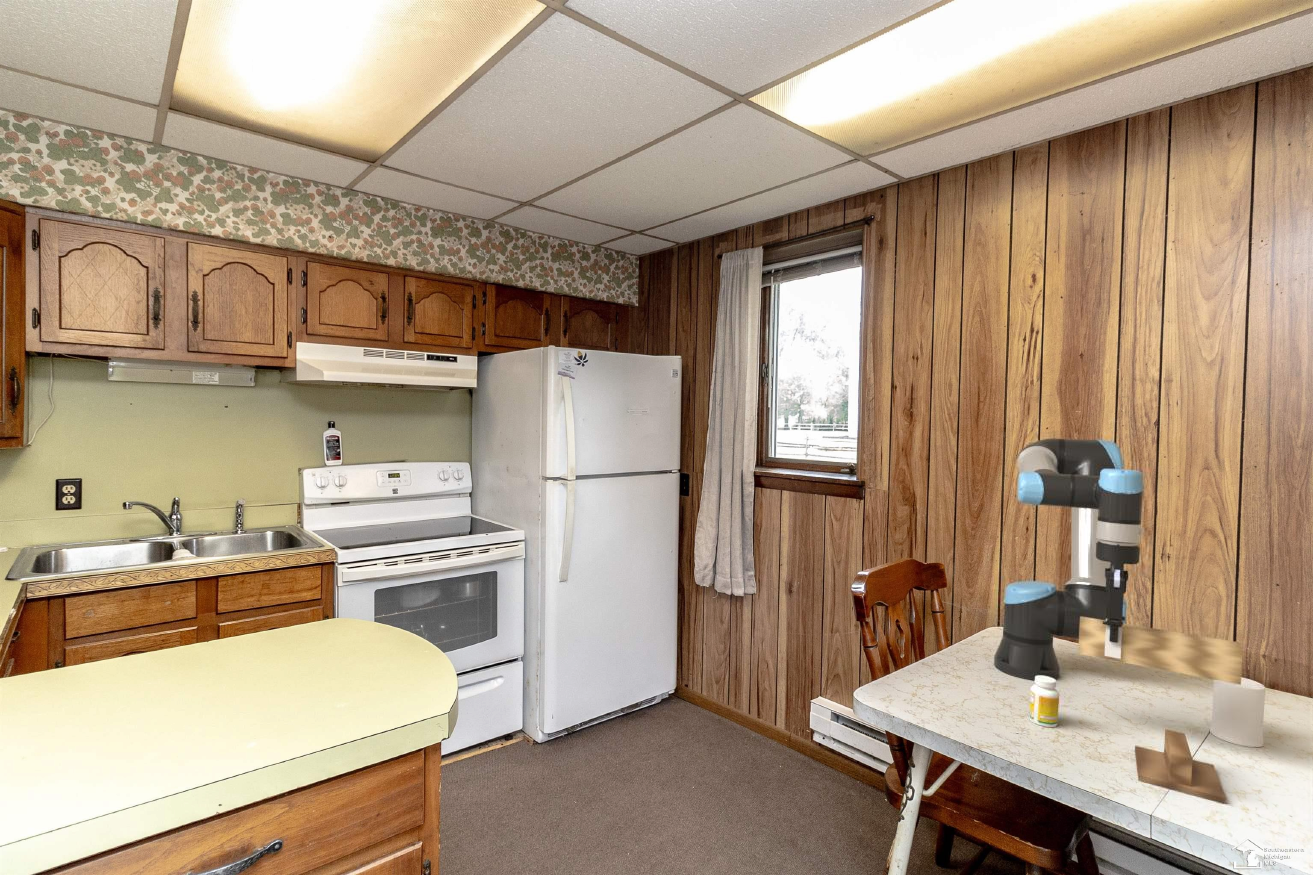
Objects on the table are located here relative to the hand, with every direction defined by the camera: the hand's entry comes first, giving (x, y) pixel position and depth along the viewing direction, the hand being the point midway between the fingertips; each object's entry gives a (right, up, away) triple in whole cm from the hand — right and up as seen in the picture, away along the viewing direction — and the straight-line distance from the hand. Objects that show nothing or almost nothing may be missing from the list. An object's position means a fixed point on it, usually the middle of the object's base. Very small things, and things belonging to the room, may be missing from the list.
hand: (1112, 653), depth 137 cm
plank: (+6, -1, -4) cm, 7 cm away
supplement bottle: (-12, -17, +5) cm, 21 cm away
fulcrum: (+1, -17, -16) cm, 23 cm away
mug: (+28, -18, +3) cm, 33 cm away
